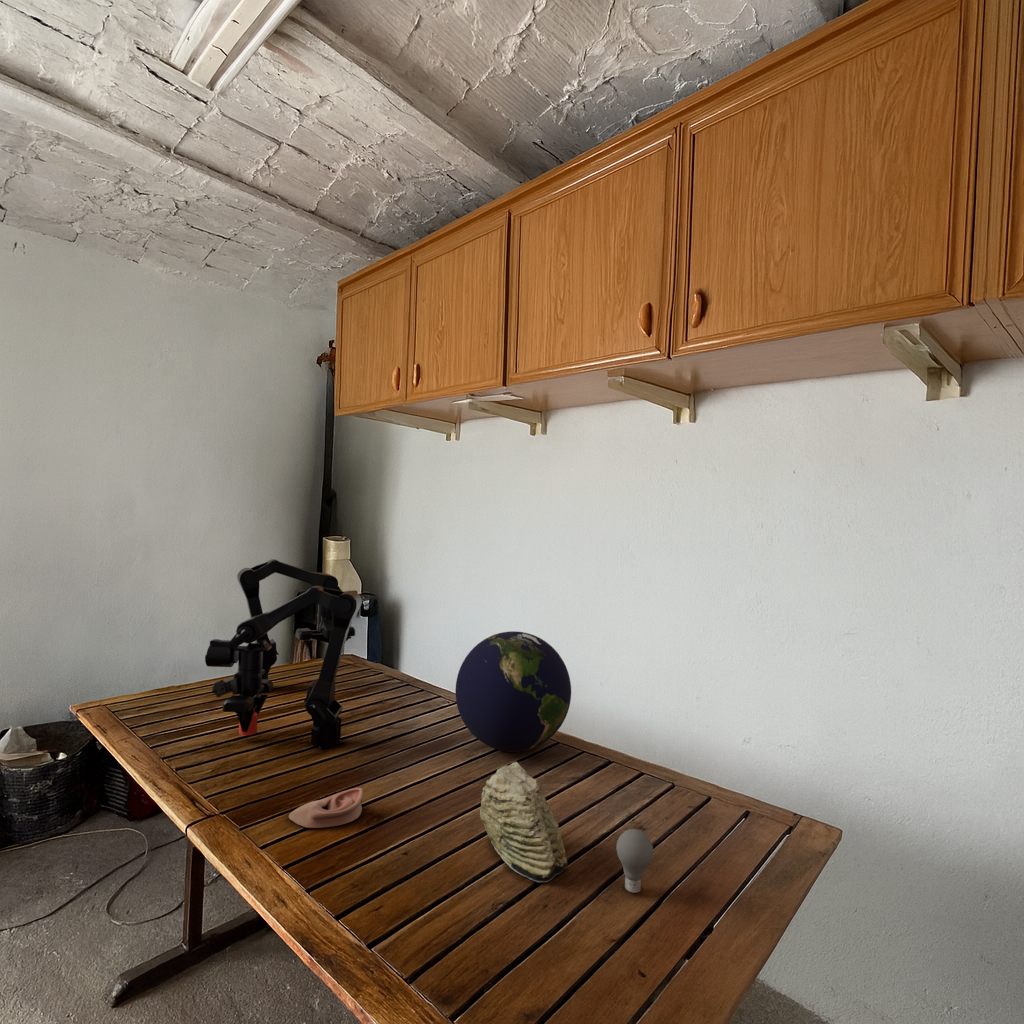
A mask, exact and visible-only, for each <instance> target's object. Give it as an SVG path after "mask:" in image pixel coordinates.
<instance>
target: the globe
mask: <svg viewBox="0 0 1024 1024" xmlns="http://www.w3.org/2000/svg"><path fill="white" fill-rule="evenodd" d="M462 661H463V662H462V663H461V664H460V667H459V670H458V673H457V676H456V680H455V692H454V693H455V701H456V708H457V710H458V714H459V716H460V718H461V721H462V722H463V724H464V725H465V728H467V730H468V731H469V732H470V734H471V735H473V736H474V737H475V738H476V739H477V740H478V741H480V742H481V743H483V744H484V745H486V746H487V747H490V748H492V749H494V750H498V751H502V752H509V753H515V752H516V753H518V752H524V751H529V750H532V749H535V748H537V747H539V746H542V745H543V744H544V743H546V742H547V741H549V740H550V739H551V738H552V737H553V736H554V735H555V734H556V733H557V732H558V731H559V729H560V728H561V727H562V725H563V723H564V722H565V720H566V718H567V715H568V713H569V709H570V705H571V701H572V681H571V678H570V674H569V670H568V668H567V666H566V664H565V662H564V660H563V658H562V656H561V655H560V654H559V652H558V651H557V650H556V649H555V648H554V647H553V646H552V645H550V643H549V642H547V641H546V640H544V639H542V638H541V637H539V636H537V635H534V634H531V633H528V632H525V631H517V630H516V631H515V630H513V631H502V632H499V633H495V634H492V635H490V636H488V637H486V638H484V639H483V640H481V641H479V643H477V644H476V645H475V646H473V648H472V649H471V650H470V651H469V652H468V654H466V657H465V658H464V659H463V660H462Z"/></svg>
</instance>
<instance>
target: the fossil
mask: <svg viewBox="0 0 1024 1024" xmlns="http://www.w3.org/2000/svg"><path fill="white" fill-rule="evenodd" d="M479 819H480V820H481V822H482V823H483V827H484V829H485V832H486V833H487V836H488V838H489V840H490V842H491V844H492V845H493V848H494V850H495V852H496V853H497V854H498V856H500V858H501V859H502V861H503V862H504V863H505V864H506V865H507V867H509V868H510V869H511V870H513V871H514V873H517V874H519V875H520V876H522V877H525V878H527V879H528V880H531V881H533V882H536V883H548V882H550V881H552V880H553V879H554V878H555V877H556V876H557V875H560V874H561V873H563V872H564V871H565V870H566V868H567V867H568V866H569V863H568V859H567V856H566V848H565V847H564V841H563V838H562V834H561V831H560V826H559V824H558V822H557V821H556V818H555V817H554V813H553V811H552V810H551V807H550V805H549V803H548V802H547V799H546V796H545V794H544V790H543V789H542V786H541V784H540V781H539V780H537V779H535V778H533V777H532V776H531V775H529V773H528V772H527V771H526V769H524V768H523V766H521V764H520V763H519V762H518V761H513V762H512V763H511V764H509V765H507V764H506V765H504V766H502V767H500V768H498V769H497V770H496V772H495V773H494V774H492V775H491V776H490V778H489V779H487V780H486V782H485V786H483V788H482V792H481V802H480V808H479Z"/></svg>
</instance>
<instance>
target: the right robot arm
mask: <svg viewBox="0 0 1024 1024" xmlns="http://www.w3.org/2000/svg"><path fill="white" fill-rule="evenodd" d="M345 591H346V592H343V590H342V591H340V590H334V589H328V588H324V587H321V586H312V587H310V588H308V590H306V591H304V592H302V593H301V594H299V595H298V596H295V597H294V598H292V599H291V600H288V601H286V602H285V603H283V604H281V605H279V606H277V607H276V608H273V610H269V611H267V612H263V614H260V615H257V616H254V617H249V618H247V619H245V620H243V621H241V622H240V623H239V624H238V625H237V626H236V630H235V635H234V636H233V637H232V638H231V639H230V640H229V639H219V638H213V639H211V640H210V641H209V645H208V647H207V649H206V653H205V655H204V662H205V665H206V666H207V667H211V668H233V667H234V666H235V664H237V672H235V673H234V674H233V676H232V677H228V678H225V679H220V680H216V681H215V682H213V685H212V687H211V688H212V690H211V693H212V694H213V695H214V696H215V697H216V698H221V697H223V696H224V695H228V694H230V693H231V696H230V697H228V698H227V699H226V700H225V701H223V702H222V712H224V713H235V714H236V716H237V718H238V723H239V722H240V726H241V729H242V732H247V731H248V728H249V726H250V723H251V720H252V718H253V715H254V712H256V713H257V714H258V716H257V718H258V717H259V715H260V714H261V711H262V709H263V707H264V704H265V703H266V702H267V701H266V700H267V699H268V697H269V694H270V693H271V692H273V690H274V682H273V681H272V680H271V679H268V680H266V679H262V675H263V674H264V673H265V669H262V662H263V652H267V651H268V650H270V649H271V648H272V647H271V646H270V645H269V644H268V643H267V642H266V641H265V640H264V641H262V642H261V643H255V641H256V640H257V639H259V638H261V637H262V636H263V635H265V634H266V633H267V634H268V632H270V631H271V630H272V629H273V628H274V627H276V626H277V625H278V624H280V623H281V622H282V621H285V620H286V619H288V618H290V617H292V616H293V615H295V614H297V613H299V612H301V611H303V610H305V609H306V608H308V607H310V606H312V605H313V604H315V605H317V606H318V605H321V606H323V607H325V608H327V609H331V610H333V629H332V632H331V636H330V638H328V639H329V640H328V643H327V645H326V650H325V654H324V657H323V661H322V664H321V668H320V671H319V675H318V678H317V679H313V681H312V682H311V683H310V684H309V685H308V686H307V690H306V697H305V699H304V700H303V703H305V706H304V708H305V711H306V712H307V714H308V715H310V716H311V720H312V727H311V730H310V731H311V732H310V733H311V735H310V739H309V740H308V743H309V744H310V745H313V746H314V747H316V748H318V749H320V750H327V749H329V748H333V747H336V746H340V745H343V744H344V743H345V741H344V740H343V739H341V737H342V735H341V733H342V717H340V715H341V713H342V711H343V708H344V707H343V705H342V704H341V703H340V702H339V701H338V700H337V699H336V698H335V697H336V677H337V674H338V670H339V668H340V667H339V666H340V662H341V659H342V656H343V652H344V649H345V645H346V643H347V641H346V638H347V635H348V631H349V628H350V626H352V624H353V621H354V620H355V618H356V617H357V615H358V613H359V610H360V608H361V606H362V603H363V601H362V600H363V599H362V597H361V595H360V594H359V593H358V591H357V592H355V591H354V590H345ZM345 642H346V643H345ZM242 644H243V645H242ZM244 644H247V645H244ZM262 690H267V691H266V693H269V694H264V693H263V692H261V691H262Z"/></svg>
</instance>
